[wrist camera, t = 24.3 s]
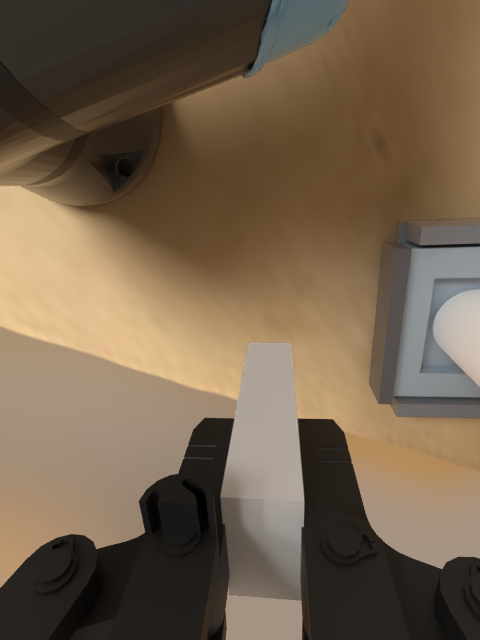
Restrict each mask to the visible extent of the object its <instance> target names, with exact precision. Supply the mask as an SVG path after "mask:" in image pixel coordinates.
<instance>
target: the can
mask: <svg viewBox="0 0 480 640" xmlns="http://www.w3.org/2000/svg"><path fill="white" fill-rule="evenodd" d="M433 335H434V338H435V341H436V343H437V344H438V345H439V346H440V348H441V349H442V350H443V351H444V352H445V353H446V354H447V355H448V356H449V357H450V358H451V359H452V360H453V361H454V362H455V363H456V364H457V365H458V366H459V367H460V368H461V369H462V370H463V371H464V372H465V373H466V374H467V375H468V376H469V377H470V378H471V379H472V380H473V381H474V382H475V383H476V384H477V385H478V386H479V387H480V289H476V290H469V291H465V292H462V293H459V294H457V295H455V296H454V297H452V298H450V299H449V300H448V301H447V302H445V303H444V304H443V305H442V307H441V308H440V309H439V311H438V312H437V314H436V316H435V319H434V322H433Z"/></svg>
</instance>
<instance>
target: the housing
mask: <svg viewBox="0 0 480 640" xmlns="http://www.w3.org/2000/svg"><path fill="white" fill-rule="evenodd" d="M396 242H399V243H401V244H408V243H416V244H418V245H443V244H475V243H480V218H467V219H442V220H417V221H398V227H397V236H396ZM390 405H391V407H392V409H393V411H394V413H395V415H396V416H397V417H447V418H480V397H414V396H393V399H392V404H390Z"/></svg>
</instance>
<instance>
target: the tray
mask: <svg viewBox="0 0 480 640" xmlns="http://www.w3.org/2000/svg"><path fill="white" fill-rule="evenodd" d="M476 289H480V243H475V244H443V245H418V244H416V243H408V244H401V243H399V242H383V246H382V256H381V266H380V276H379V287H378V297H377V307H376V318H375V328H374V338H373V348H372V359H371V369H370V379H369V384H370V386H371V389H372V391H373V393H374V395H375V397H376V400H377V402H378V404H392V399H393V396H414V397H480V387H479V386H478V385H477V384H476V383H475V382H474V381H473V380H472V379H471V378H470V377H469V376H468V375H467V374H466V373H465V372H464V371H463V370H462V369H461V368H460V367H459V366H458V365H457V364H456V363H455V362H454V361H453V360H452V359H451V358H450V357H449V356H448V355H447V354H446V353H445V352H444V351H443V350H442V349H441V348H440V346H439V345H438V344H437V343H436V341H435V338H434V335H433V322H434V319H435V316H436V314H437V312H438V311H439V309H440V308H441V307H442V305H443V304H444V303H445V302H447V301H448V300H449V299H450V298H452V297H454V296H455V295H457V294H459V293H462V292H465V291H469V290H476Z"/></svg>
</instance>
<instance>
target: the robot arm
mask: <svg viewBox="0 0 480 640" xmlns="http://www.w3.org/2000/svg"><path fill="white" fill-rule="evenodd" d="M349 1H350V0H0V186H21V187H23V188H25V189H27V190H29V191H31V192H33V193H35V194H38V195H40V196H42V197H44V198H46V199H49V200H51V201H54V202H58V203H62V204H67V205H74V206H88V205H96V204H103V203H108V202H111V201H114V200H116V199H118V198H121V197H122V196H124V195H126V194H127V193H129V192H130V191H131V190H132V189H134V188H135V187H136V186H137V185H138V184H139V183H140V182H141V180H142V179H143V178H144V177H145V175H146V174H147V172H148V170H149V169H150V167H151V165H152V163H153V160H154V158H155V155H156V152H157V149H158V145H159V140H160V133H161V106H163V105H166V104H168V103H171V102H174V101H176V100H179V99H181V98H184V97H187V96H189V95H192V94H194V93H197V92H199V91H202V90H205V89H207V88H210V87H212V86H215V85H218V84H220V83H223V82H225V81H228V80H231V79H233V78H236V77H238V76H241V75H242V76H243V77H244V78H248V77H251V76H254V75H255V74H257V73H258V72H259V71H260V70H261V68H262V67H263V66H264V65H265V64H267V63H269V62H271V61H274V60H276V59H278V58H280V57H282V56H285V55H287V54H289V53H291V52H293V51H296V50H298V49H300V48H302V47H305V46H307V45H309V44H311V43H313V42H315V41H317V40H319V39H320V38H321V37H323V36H324V35H325V34H327V33H328V32H329V31H330V30H331V29H332V28H333V27H334V25H335V24H336V23H337V21H338V19H339V18H340V16H341V15H342V13H343V12H344V10H345V9H346V7H347V4H348V2H349ZM139 504H140V509H141V514H142V518H143V523H144V528H145V533H144V534H142V535H141V536H139V537H138V538H134V539H132V540H129V541H126V542H122V543H118V544H115V545H111V546H107V547H103V548H99V549H96V547H95V545H94V542H93V541H91V540H90V539H88V538H87V537H86V536H84V535H74V534H70V535H67V536H62V537H58V538H55V539H54V540H52V541H50V542H48V543H46V544H45V545H43V546H41V547H40V548H39V549H38V550H36V551H35V552H34V553H33V554H32V555H31V556H30V557H28V558H27V559H26V560H25V562H24V563H23V564H22V565H21V566H20V567H19V568H18V569H17V570H16V572H15V573H14V574H13V575H12V576H11V577H10V578H9V579H8V580H7V581H6V582H5V584H4V585H3V586H2V587H1V588H0V640H225V639H226V630H227V628H226V613H225V608H226V600H227V592H228V586H229V595H237V596H250V597H263V598H276V599H289V600H301V601H302V615H303V624H302V625H303V626H302V640H480V559H479V558H476V557H457V558H455V559H453V560H451V561H448V562H446V564H445V566H444V568H443V569H440V568H437V567H434V566H431V565H429V564H426V563H423V562H421V561H418V560H415V559H412V558H410V557H408V556H405V555H403V554H401V553H399V552H397V551H396V550H394V549H393V548H391V547H390V546H388V545H387V544H386V543H385V542H383V540H382V539H381V538H379V537H378V535H376V533H375V532H374V530H373V529H372V527H371V526H370V524H369V522H368V519H367V516H366V513H365V510H364V506H363V502H362V498H361V495H360V491H359V488H358V483H357V479H356V476H355V472H354V468H353V465H352V463H351V457H350V453H349V451H348V446H347V442H346V439H345V434H344V432H343V431H342V430H341V428H340V427H339V426H338V425H337V424H336V423H335V422H334V420H333V419H297V408H296V396H295V384H294V372H293V360H292V349H291V343H248V347H247V353H246V358H245V364H244V369H243V375H242V380H241V386H240V391H239V397H238V402H237V408H236V414H235V419H230V418H204V419H203V420H202V421H201V422H200V423H199V424H198V425H197V427H196V428H195V429H194V430H193V432H192V435H191V438H190V441H189V446H188V447H187V450H186V453H185V456H184V459H183V462H182V465H181V467H180V470H179V474H175V475H170V476H168V477H165V478H163V479H161V480H158V481H157V482H156V483H154V484H153V485H152V486H150V487H149V488H148V489H147V490H146V491H145V493H144V495H143V496H142V497H141V499H140V500H139Z"/></svg>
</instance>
